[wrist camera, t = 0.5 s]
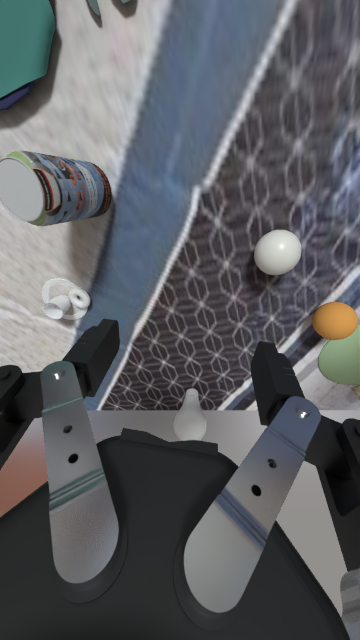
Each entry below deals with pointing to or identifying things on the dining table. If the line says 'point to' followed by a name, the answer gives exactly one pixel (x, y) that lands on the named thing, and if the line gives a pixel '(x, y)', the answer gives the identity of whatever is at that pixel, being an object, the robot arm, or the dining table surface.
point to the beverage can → (52, 188)
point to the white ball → (277, 252)
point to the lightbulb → (190, 418)
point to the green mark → (342, 359)
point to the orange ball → (335, 321)
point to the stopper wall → (357, 391)
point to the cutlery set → (25, 45)
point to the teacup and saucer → (64, 301)
